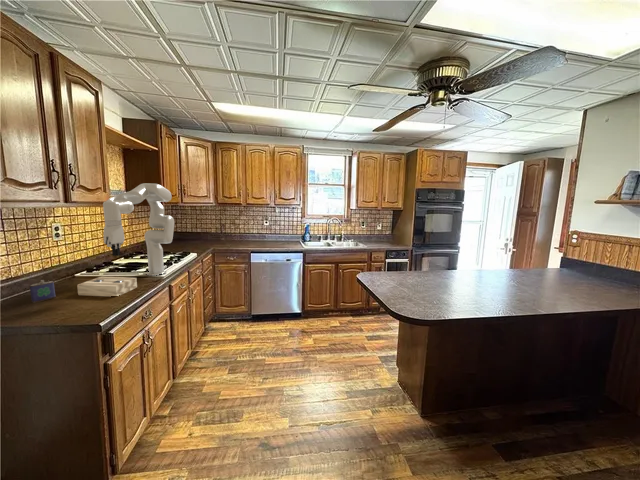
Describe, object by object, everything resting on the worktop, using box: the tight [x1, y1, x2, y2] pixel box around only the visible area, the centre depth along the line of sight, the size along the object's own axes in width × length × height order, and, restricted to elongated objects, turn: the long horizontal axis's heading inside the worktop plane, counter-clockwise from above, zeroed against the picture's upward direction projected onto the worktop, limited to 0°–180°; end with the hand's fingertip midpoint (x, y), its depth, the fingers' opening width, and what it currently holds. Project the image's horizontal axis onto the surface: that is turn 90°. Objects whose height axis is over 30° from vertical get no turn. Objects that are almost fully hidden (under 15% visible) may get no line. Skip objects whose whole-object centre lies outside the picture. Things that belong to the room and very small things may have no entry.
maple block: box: [77, 276, 138, 297], centre depth 158 cm, size 16×22×6 cm
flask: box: [29, 279, 56, 303], centre depth 143 cm, size 9×3×11 cm, turn 152°
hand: (116, 255), depth 156 cm, fingers closed
